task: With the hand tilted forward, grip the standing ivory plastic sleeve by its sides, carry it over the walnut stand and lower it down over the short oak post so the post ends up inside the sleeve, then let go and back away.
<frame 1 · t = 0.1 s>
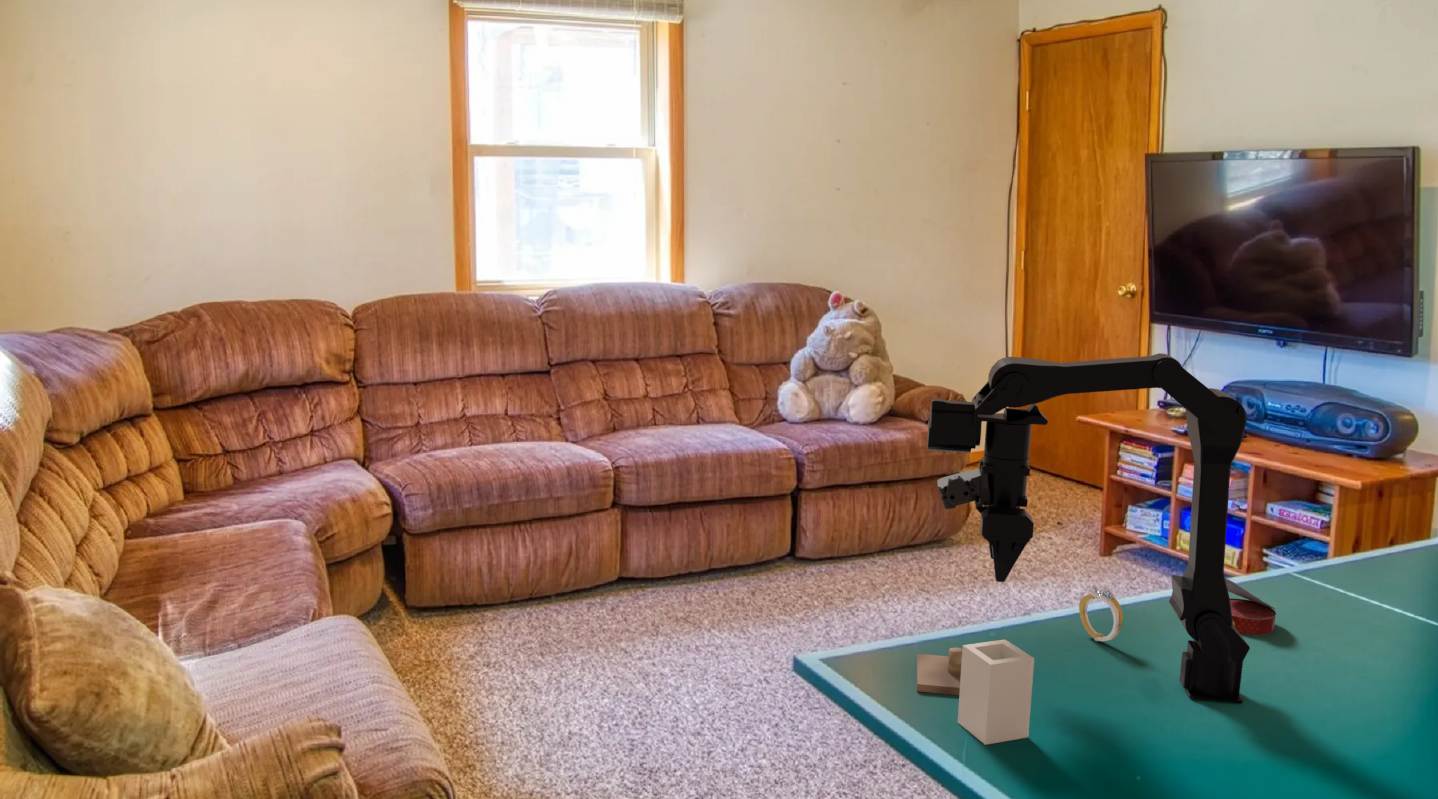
hand: (997, 569, 153), 15 cm above the table, tool pointing down, fingers open, 9 cm apart
ring: (1098, 642, 168), on the table
post stand: (954, 678, 154), on the table
sleeve: (992, 729, 140), on the table
canned food: (1242, 625, 176), on the table
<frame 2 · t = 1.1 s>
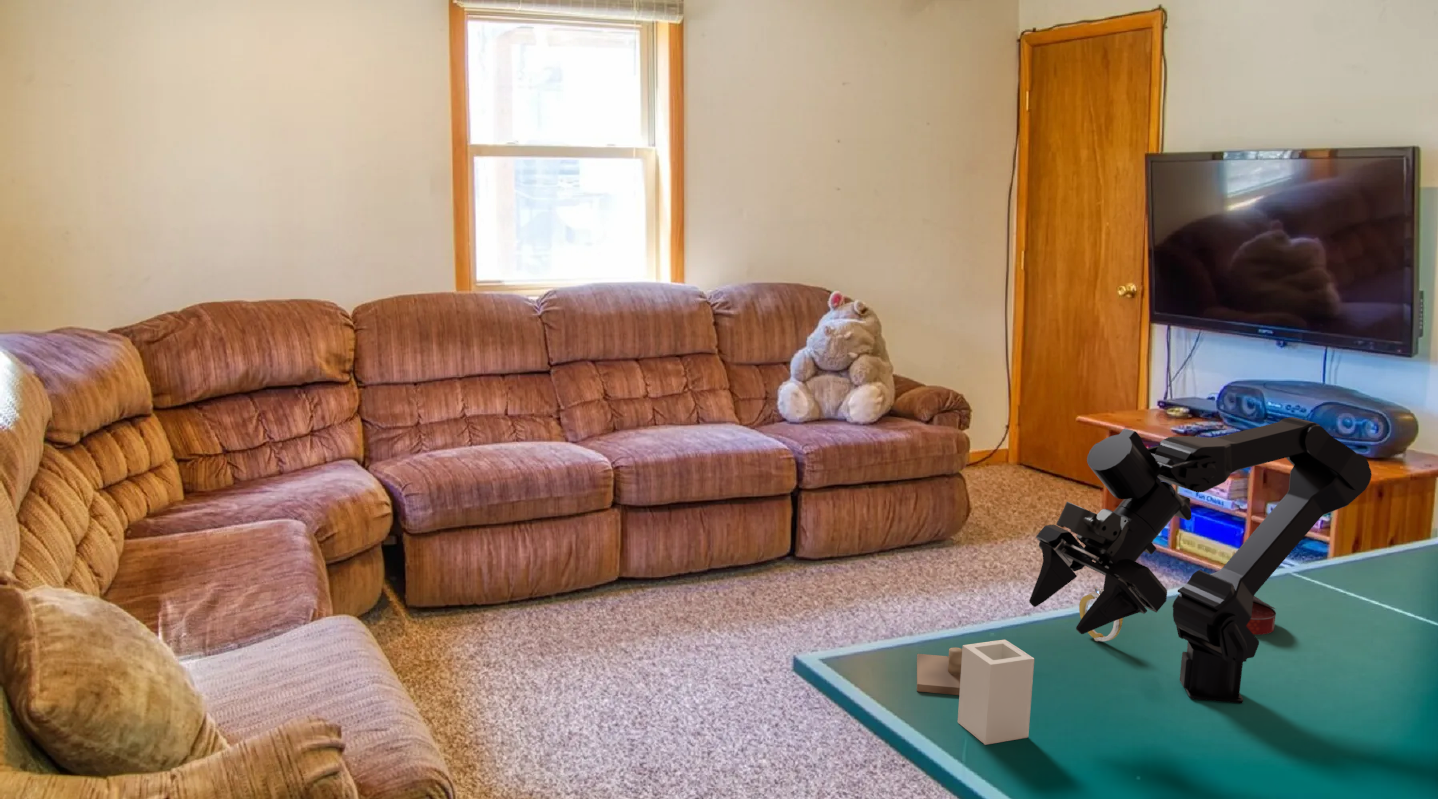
hand: (1054, 617, 140), 13 cm above the table, tool tilted 45°, fingers open, 9 cm apart
nothing on the table moved.
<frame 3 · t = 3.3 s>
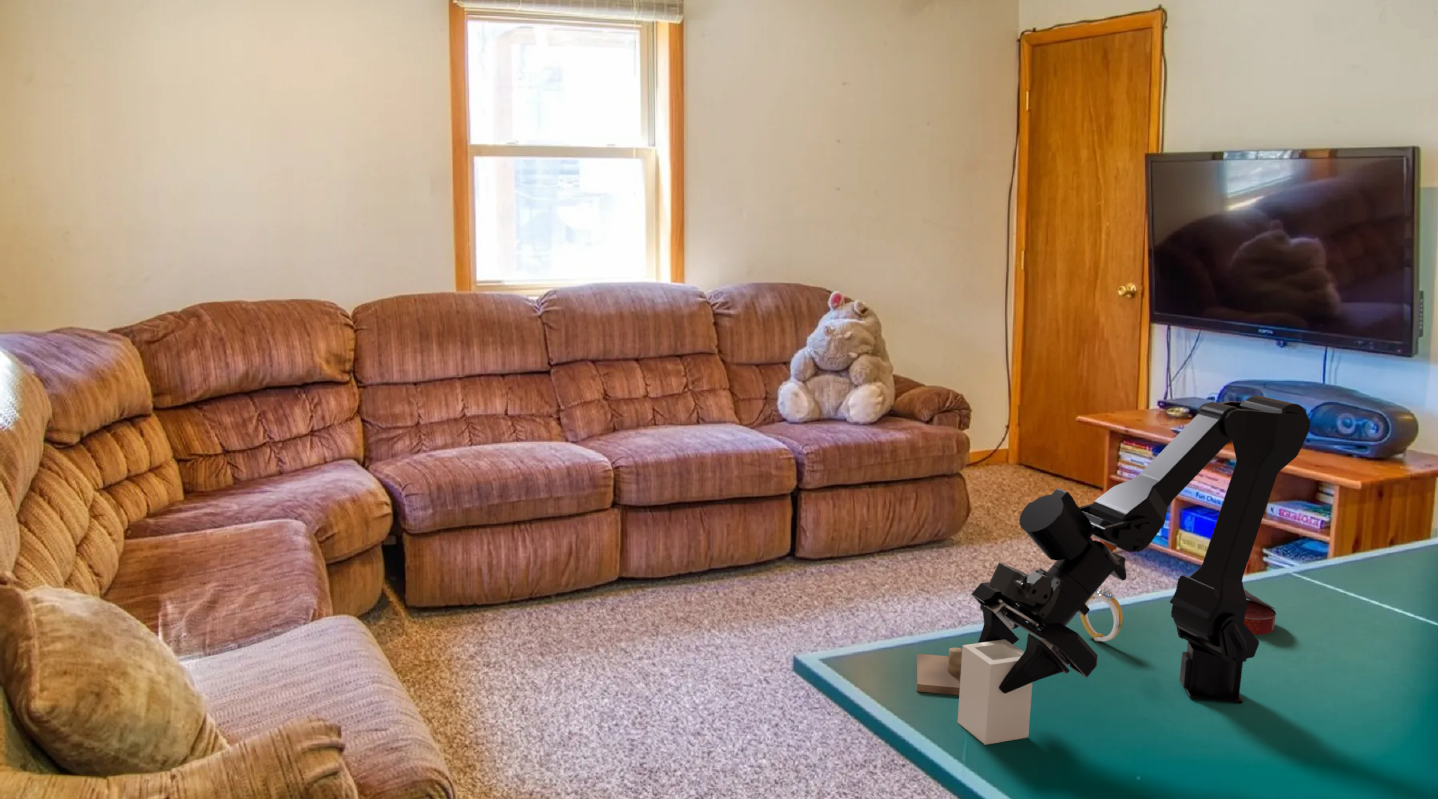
hand: (986, 680, 138), 7 cm above the table, tool tilted 45°, fingers closed on sleeve, 6 cm apart
sleeve: (992, 729, 140), on the table, touching gripper
everything else where it was.
when the fingers open (9 cm above the table, at t = 7.3 s): sleeve drops 1 cm, resting on post stand.
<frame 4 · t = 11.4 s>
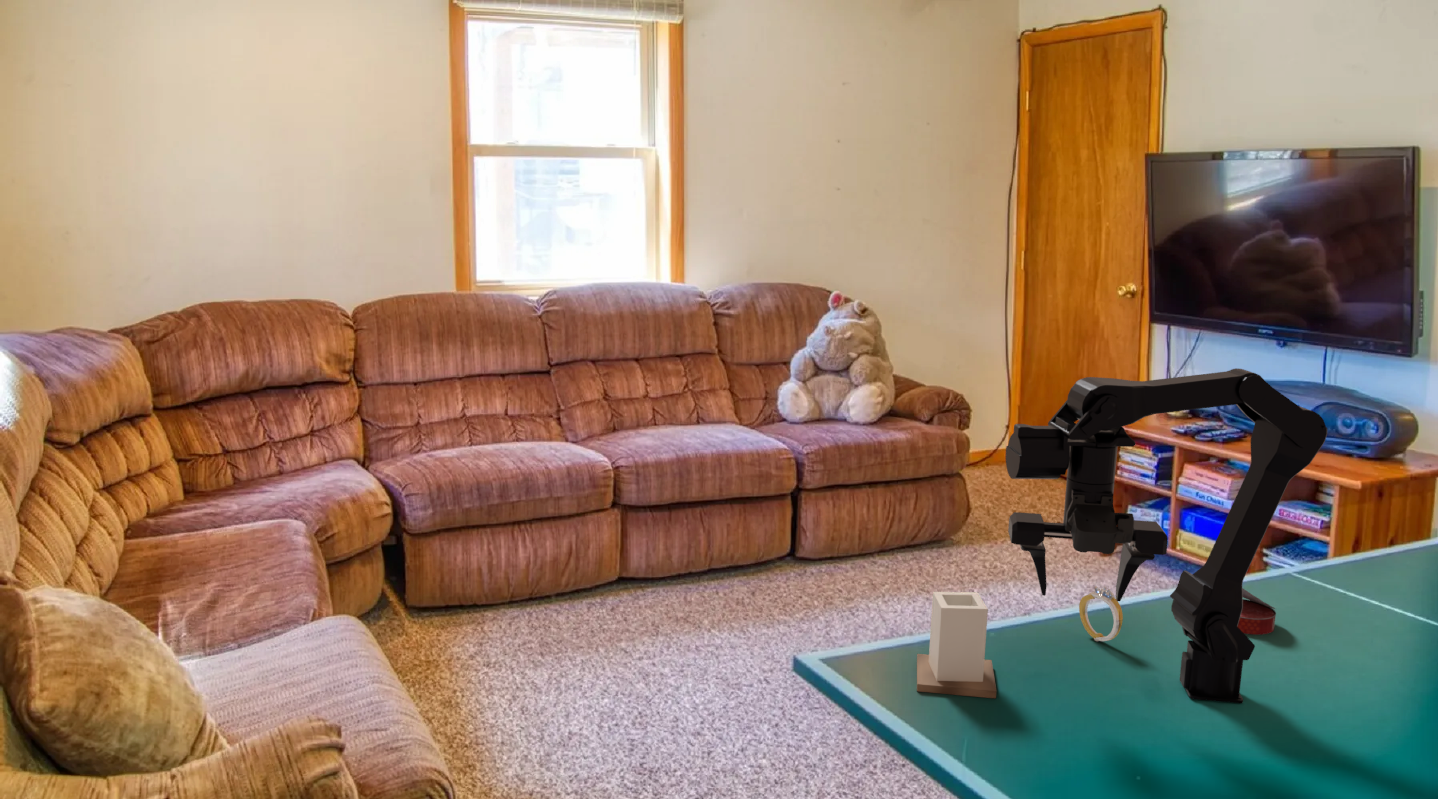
hand: (1080, 597, 148), 13 cm above the table, tool pointing down, fingers open, 9 cm apart
sleeve: (955, 671, 154), point 1 cm above the table, touching post stand
everything else where it was.
at the end: sleeve 0.0 cm off-centre on the post stand, point 1.0 cm above the post stand's base; sleeve tilted 0°; the gripper is holding nothing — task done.
